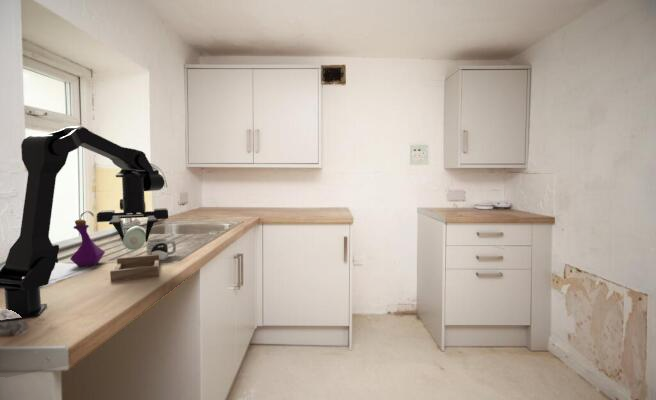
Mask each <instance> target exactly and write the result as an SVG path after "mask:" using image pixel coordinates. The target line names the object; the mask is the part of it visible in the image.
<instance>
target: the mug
mask: <svg viewBox="0 0 656 400" xmlns="http://www.w3.org/2000/svg"><path fill="white" fill-rule="evenodd" d="M145 243H146V255H156V254H159V262H161V260H162V261H166V260H168V259H169V256H170V255H173V254H175V253H176V249H177V247H176V246H177V245H176V241H175V240H168V239H167V238H153V239H152V238H151V239H148V241H147V242H146V241H145ZM169 244H170V245H171V244H172V250H170V251H169V250H168V249H169V248H168V245H169ZM167 258H168V259H167ZM165 259H166V260H165Z"/></svg>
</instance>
